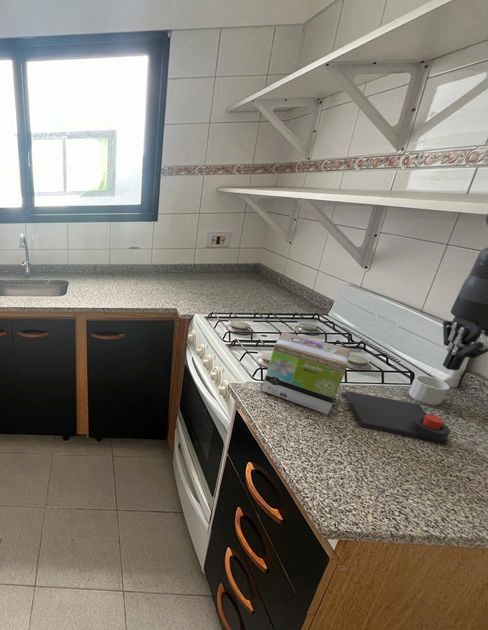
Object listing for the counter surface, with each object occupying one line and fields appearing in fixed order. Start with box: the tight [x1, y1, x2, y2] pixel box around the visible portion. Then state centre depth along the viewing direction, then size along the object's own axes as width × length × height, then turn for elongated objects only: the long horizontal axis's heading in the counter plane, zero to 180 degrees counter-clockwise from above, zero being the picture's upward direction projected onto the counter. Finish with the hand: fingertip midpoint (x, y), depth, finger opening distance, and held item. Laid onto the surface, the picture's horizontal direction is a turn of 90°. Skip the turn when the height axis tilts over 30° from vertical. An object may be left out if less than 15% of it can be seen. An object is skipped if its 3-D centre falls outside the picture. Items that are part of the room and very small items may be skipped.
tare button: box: [422, 413, 445, 430], centre depth 76 cm, size 3×3×2 cm
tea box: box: [261, 331, 351, 415], centre depth 88 cm, size 15×10×15 cm
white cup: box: [408, 374, 450, 406], centre depth 88 cm, size 6×6×5 cm
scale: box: [343, 390, 451, 445], centre depth 82 cm, size 15×14×3 cm
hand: (449, 368), depth 79 cm, fingers closed
